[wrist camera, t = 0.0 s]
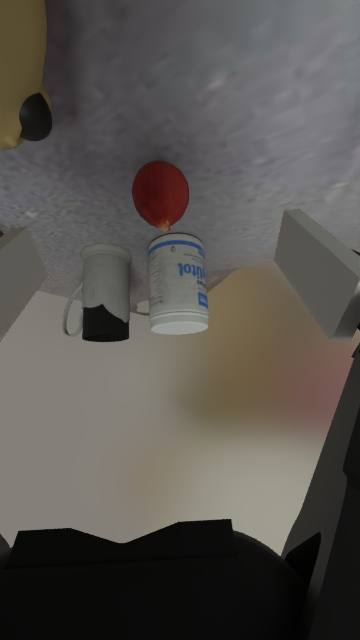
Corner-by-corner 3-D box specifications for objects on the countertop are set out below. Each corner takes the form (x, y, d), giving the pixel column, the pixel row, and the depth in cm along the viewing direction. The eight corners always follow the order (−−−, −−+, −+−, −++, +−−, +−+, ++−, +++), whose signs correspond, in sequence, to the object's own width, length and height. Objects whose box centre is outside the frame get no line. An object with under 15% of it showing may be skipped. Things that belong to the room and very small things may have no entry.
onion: (150, 192, 30) (152, 251, 29) (120, 155, 25) (120, 225, 24) (194, 173, 28) (200, 237, 26) (171, 129, 23) (176, 204, 21)
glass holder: (140, 260, 48) (142, 338, 44) (83, 276, 53) (80, 347, 49) (110, 238, 40) (110, 331, 36) (46, 259, 45) (41, 342, 42)
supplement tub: (214, 238, 42) (222, 324, 38) (186, 262, 50) (191, 335, 46) (160, 224, 37) (164, 321, 34) (139, 254, 45) (141, 334, 42)
